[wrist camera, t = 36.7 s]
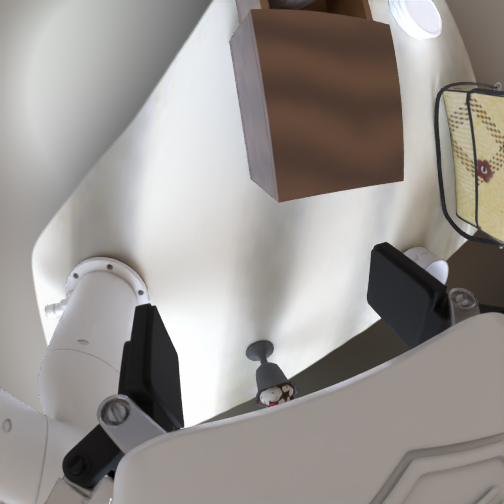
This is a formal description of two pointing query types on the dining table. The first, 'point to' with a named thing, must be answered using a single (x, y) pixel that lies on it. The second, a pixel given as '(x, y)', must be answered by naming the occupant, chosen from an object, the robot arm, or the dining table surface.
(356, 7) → the drawer
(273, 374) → the sundae
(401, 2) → the white round disc
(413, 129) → the dining table surface
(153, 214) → the dining table surface
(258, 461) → the robot arm
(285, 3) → the white cylinder
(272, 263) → the dining table surface
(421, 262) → the teacup
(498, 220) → the clutch purse
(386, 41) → the cabinet
